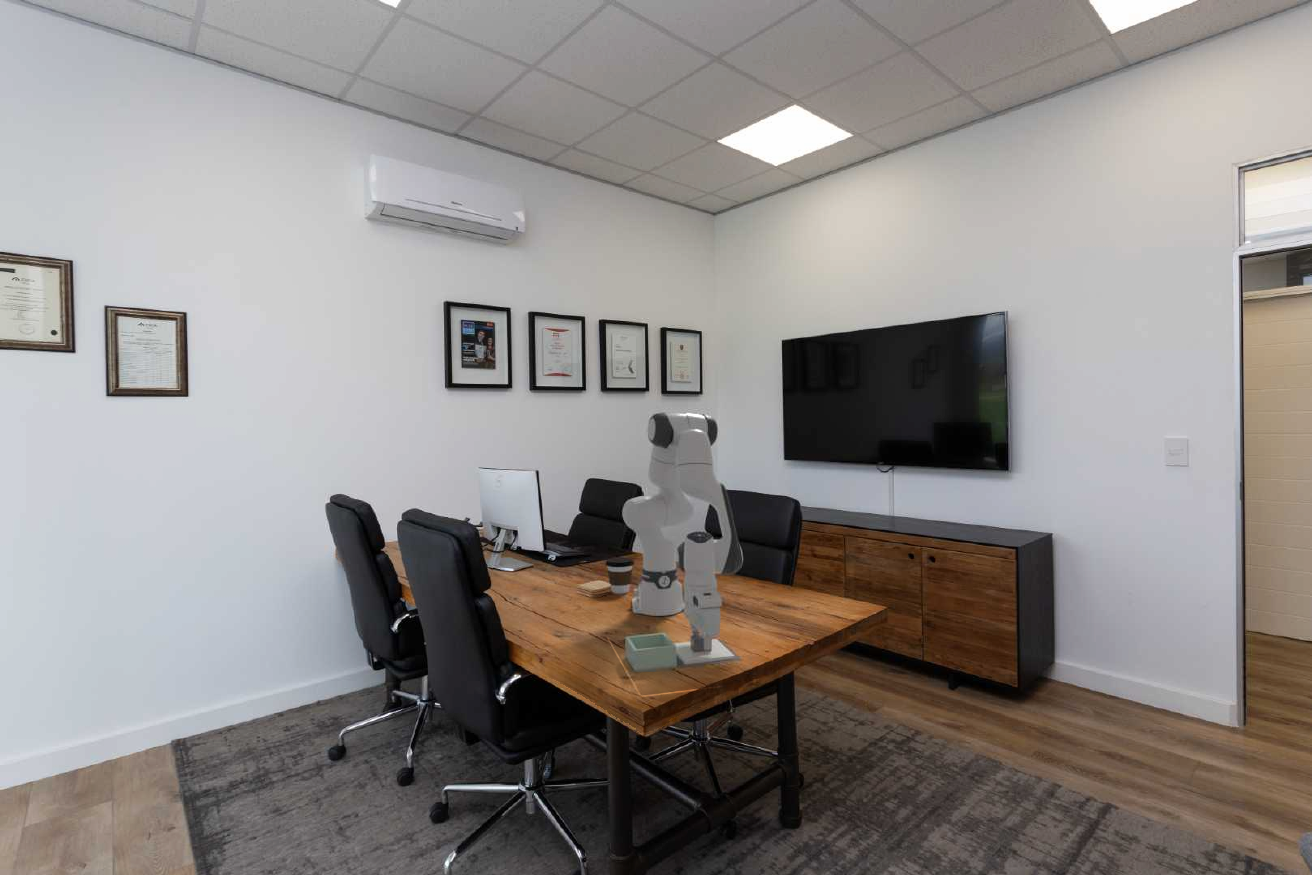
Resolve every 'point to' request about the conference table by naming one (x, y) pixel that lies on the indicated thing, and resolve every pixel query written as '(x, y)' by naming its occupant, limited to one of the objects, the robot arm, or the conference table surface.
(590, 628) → the conference table surface
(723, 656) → the lid
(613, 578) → the coffee cup
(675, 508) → the robot arm
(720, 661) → the mat
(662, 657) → the pale green open box
